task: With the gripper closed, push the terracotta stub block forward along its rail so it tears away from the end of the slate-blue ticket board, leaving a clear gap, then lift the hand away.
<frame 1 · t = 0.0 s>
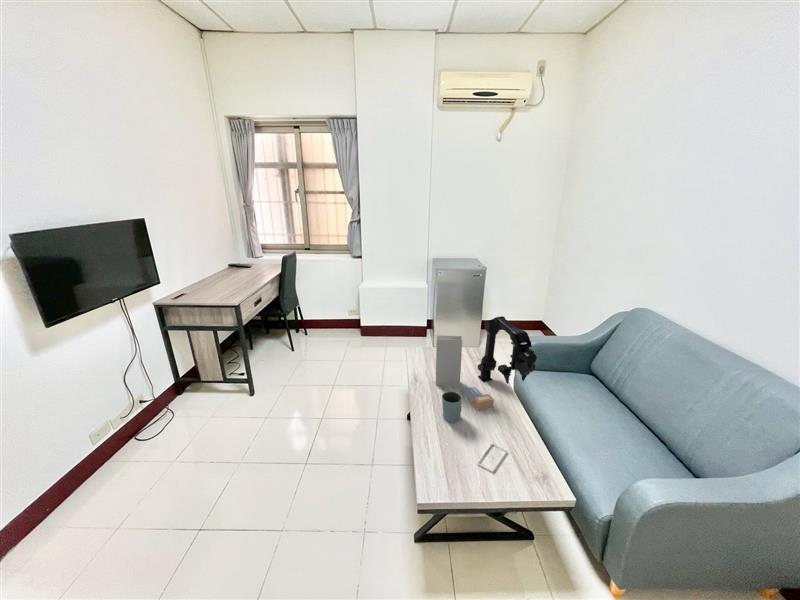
hand: (515, 382, 172), 15 cm above the table, fingers open, 9 cm apart
ticket: (474, 395, 186), on the table
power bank: (492, 459, 143), on the table
blue-grey cup: (451, 417, 169), on the table
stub: (483, 402, 176), point 3 cm above the table, slide at 0.0 cm
tall grey box: (447, 383, 198), on the table
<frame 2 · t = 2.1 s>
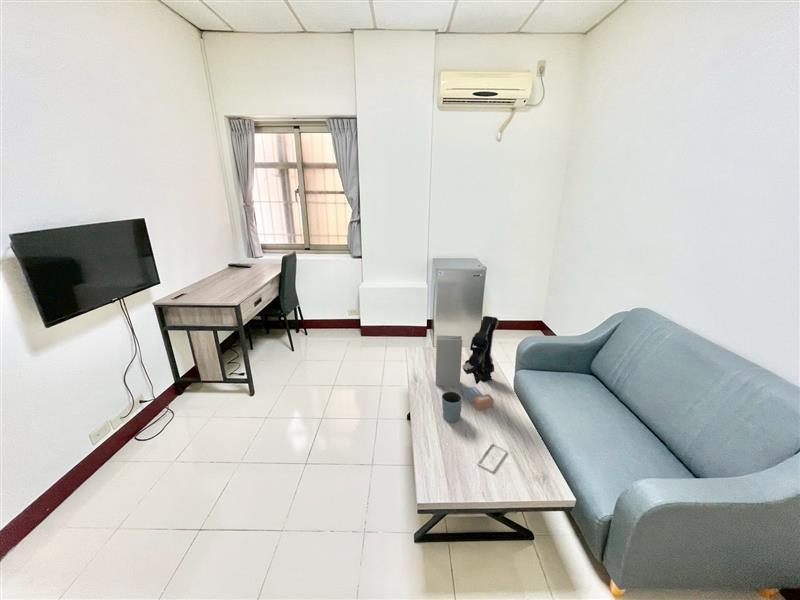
hand: (476, 383, 181), 9 cm above the table, fingers closed
nothing on the table moved.
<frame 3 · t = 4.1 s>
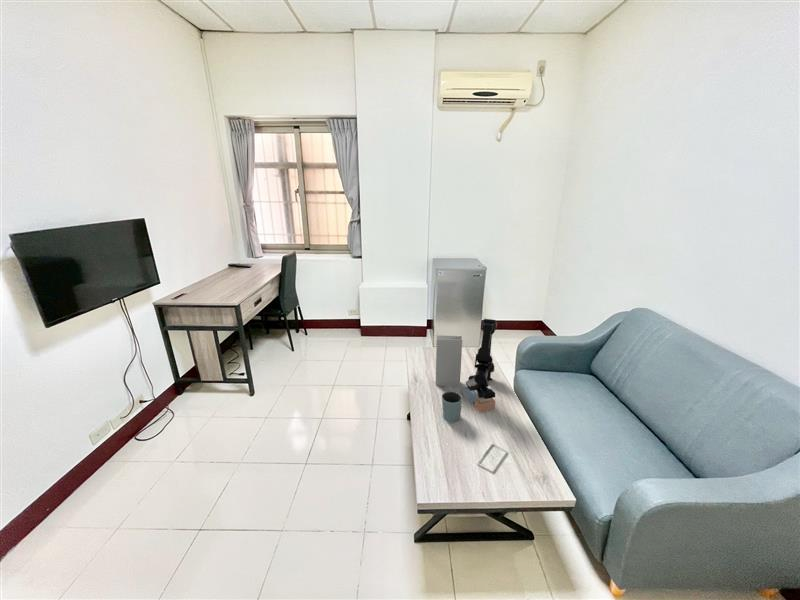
hand: (480, 399, 179), 2 cm above the table, fingers closed
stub: (484, 403, 174), point 3 cm above the table, slide at 1.4 cm, touching gripper
everything else where it was.
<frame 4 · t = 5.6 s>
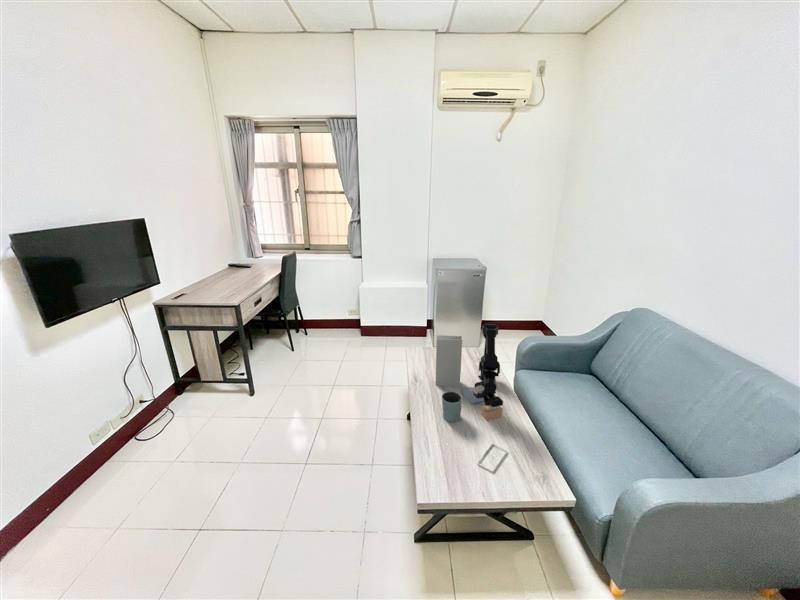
hand: (487, 407, 172), 2 cm above the table, fingers closed
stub: (491, 411, 168), point 3 cm above the table, slide at 8.3 cm, touching gripper
everything else where it was.
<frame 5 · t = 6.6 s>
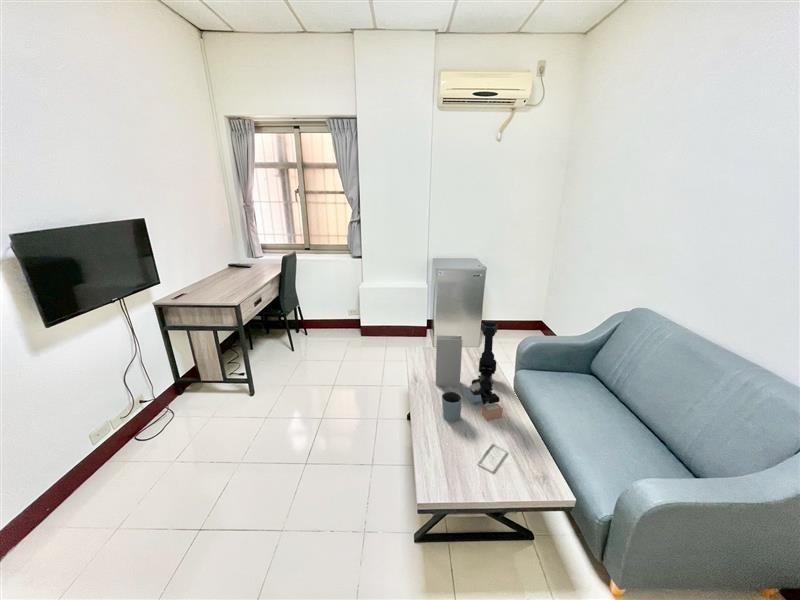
hand: (484, 404, 176), 1 cm above the table, fingers closed
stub: (491, 411, 168), point 3 cm above the table, slide at 8.5 cm
everything else where it was.
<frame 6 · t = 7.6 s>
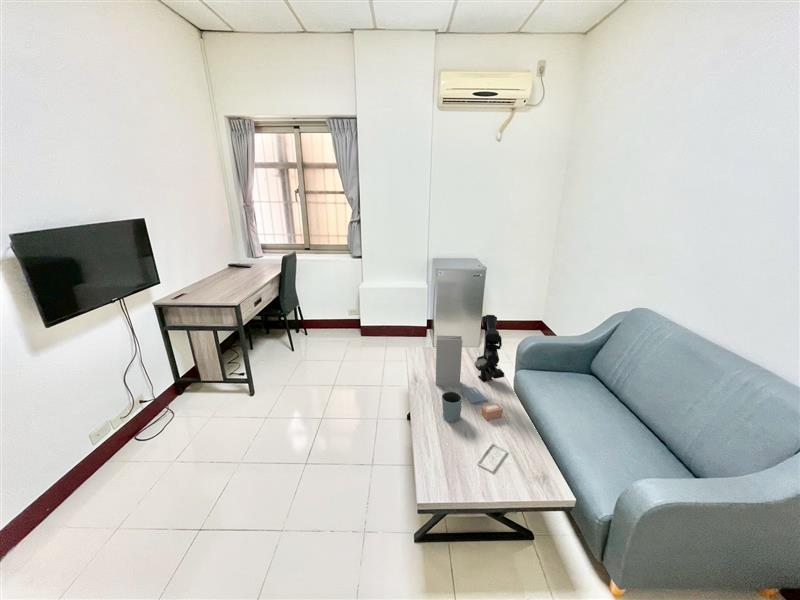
hand: (488, 380, 180), 11 cm above the table, fingers closed
nothing on the table moved.
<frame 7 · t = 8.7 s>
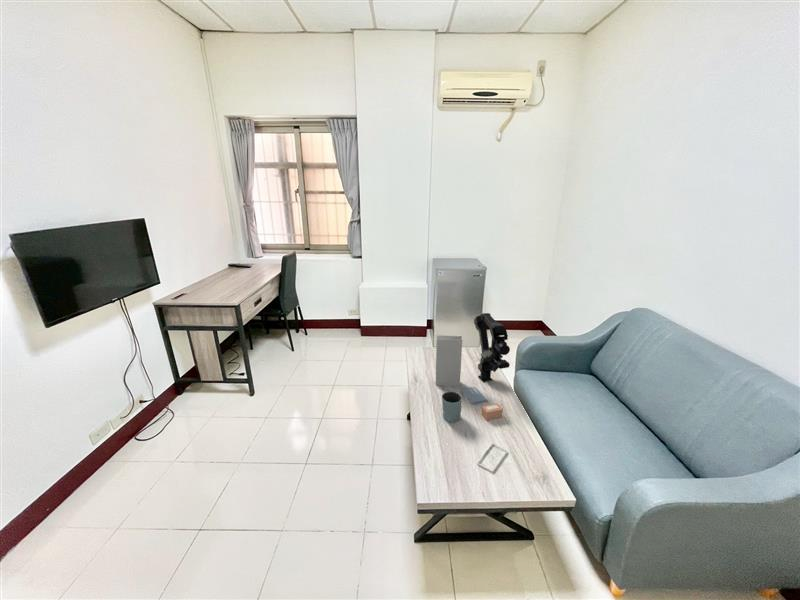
hand: (494, 371, 187), 12 cm above the table, fingers closed
nothing on the table moved.
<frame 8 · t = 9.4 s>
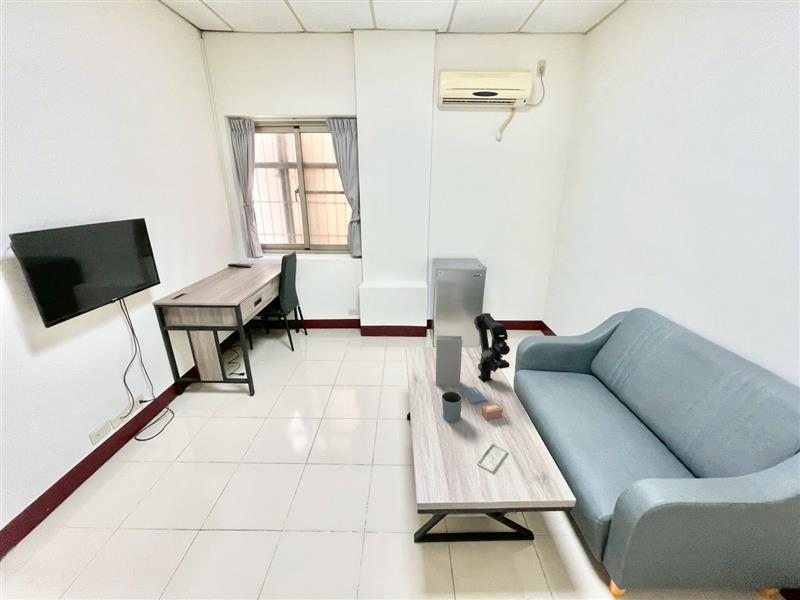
hand: (494, 371, 187), 12 cm above the table, fingers closed
nothing on the table moved.
at the end: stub slide at 8.5 cm; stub touching nothing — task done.
